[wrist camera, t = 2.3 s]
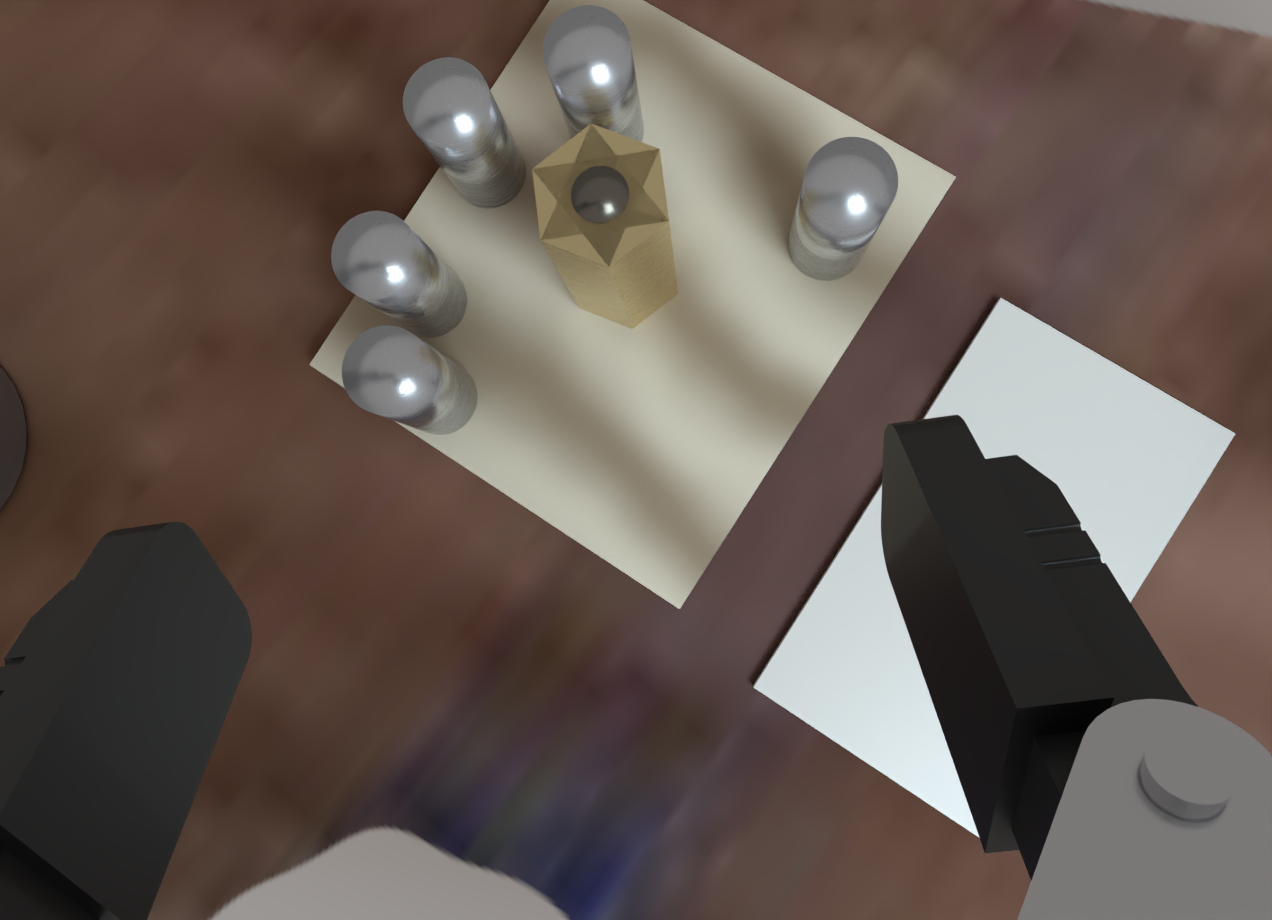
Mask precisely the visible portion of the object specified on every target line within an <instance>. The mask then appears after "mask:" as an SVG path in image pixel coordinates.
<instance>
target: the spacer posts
mask: <svg viewBox="0 0 1272 920" xmlns="http://www.w3.org/2000/svg"><path fill="white" fill-rule="evenodd" d="M543 59H544V62H545V65H546V68H547V71H548V74H549V77H550V80H551V83H552V85H553V88H554V91H555V94H556V97H557V100H558V103H559V105H560V108H561V111H562V114H563V117H564V120H565V123H566V125H567V128H568V131H569V134H570V137H571V139H572V138H573V137H574V136H575V135H577V134H578V133H579V132H581V131H582V130H583V129H585V128H586V127H587V126H588V125H590V124H594V125H597V126H599V127H602V128H605V129H607V130H610V131H613V132H616V133H618V134H621V135H624V136H626V137H629V138H632V139H634V140H637V141H640V142H642V139H643V135H644V123H643V117H642V111H641V104H640V98H639V92H638V86H637V79H636V73H635V67H634V61H633V55H632V48H631V42H630V36H629V33H628V30H627V28H626V26H625V24H624V23H623V21H622V20H621V19H620V18H619V17H618V16H617V15H616V14H614V13H613V12H611V11H610V10H608V9H606V8H603V7H599V6H593V5H585V6H578V7H575V8H572V9H570V10H568V11H566V12H564V13H563V14H561V15H560V16H559V17H557V18H556V19H555V20H554V21H553V23H552V24H551V25H550V27H549V29H548V30H547V32H546V35H545V37H544V41H543ZM403 111H404V114H405V117H406V119H407V121H408V123H409V125H410V126H411V128H412V129H413V130H414V132H415V133H416V134H417V136H418V137H419V138H420V140H421V141H422V143H423V144H424V145H425V147H426V148H427V149H428V151H429V152H430V153H431V155H432V156H433V158H434V159H435V160H436V162H437V163H438V164H439V166H440V167H441V168H442V170H443V171H444V173H445V174H446V175H447V177H448V178H449V179H450V181H451V182H452V183H453V185H454V186H455V188H456V189H457V190H458V192H459V193H460V194H461V196H462V197H463V198H464V199H465V200H466V201H467V202H469V203H470V204H472V205H474V206H477V207H480V208H497V207H500V206H503V205H505V204H507V203H508V202H510V201H511V200H513V199H514V198H515V197H516V196H517V195H518V193H519V192H520V190H521V189H522V187H523V184H524V182H525V178H526V165H525V161H524V158H523V156H522V154H521V152H520V150H519V148H518V146H517V144H516V142H515V140H514V138H513V136H512V134H511V132H510V130H509V128H508V126H507V123H506V121H505V119H504V117H503V115H502V113H501V111H500V109H499V107H498V105H497V103H496V101H495V99H494V97H493V95H492V93H491V91H490V89H489V87H488V85H487V83H486V81H485V79H484V77H483V76H482V74H481V73H480V72H479V70H478V69H477V68H476V67H474V66H473V65H472V64H470V63H469V62H467V61H464V60H462V59H458V58H451V57H446V58H439V59H435V60H432V61H430V62H428V63H426V64H424V65H423V66H421V67H420V68H419V69H418V70H417V71H416V72H415V73H414V74H413V75H412V76H411V78H410V79H409V81H408V83H407V85H406V87H405V90H404V94H403ZM897 189H898V173H897V169H896V166H895V163H894V161H893V159H892V158H891V156H890V155H889V154H888V153H887V151H886V150H885V149H883V148H882V147H881V146H880V145H878V144H877V143H875V142H873V141H871V140H868V139H865V138H860V137H844V138H839V139H836V140H833V141H831V142H829V143H827V144H825V145H824V146H823V147H821V148H820V149H819V150H818V151H817V152H816V153H815V154H814V155H813V157H812V158H811V160H810V162H809V163H808V166H807V168H806V172H805V176H804V179H803V183H802V187H801V191H800V194H799V198H798V202H797V206H796V210H795V213H794V217H793V221H792V225H791V229H790V232H789V236H788V252H789V255H790V258H791V260H792V262H793V264H794V265H795V266H796V268H797V269H798V270H799V271H800V272H802V273H803V274H804V275H806V276H808V277H810V278H813V279H816V280H821V281H831V280H836V279H839V278H842V277H844V276H846V275H847V274H849V273H850V272H852V271H853V270H854V269H855V268H856V267H857V265H858V264H859V262H860V261H861V259H862V257H863V255H864V253H865V251H866V250H867V248H868V246H869V244H870V242H871V241H872V239H873V237H874V235H875V233H876V231H877V230H878V228H879V226H880V224H881V222H882V221H883V219H884V217H885V215H886V213H887V212H888V210H889V208H890V206H891V204H892V202H893V201H894V199H895V196H896V193H897ZM331 262H332V267H333V271H334V273H335V275H336V277H337V279H338V280H339V282H340V283H341V284H342V285H343V286H344V287H345V288H346V289H347V290H349V291H350V292H352V293H353V294H355V295H356V296H358V297H359V298H361V299H362V300H364V301H365V302H366V303H368V304H369V305H371V306H372V307H374V308H375V309H377V310H378V311H380V312H381V313H383V314H384V315H386V316H387V317H389V318H390V319H392V320H393V321H395V322H396V323H398V324H399V325H400V326H402V327H403V328H405V329H406V330H405V329H403V328H400V327H397V326H390V325H385V326H377V327H374V328H371V329H369V330H367V331H365V332H363V333H362V334H360V335H359V336H358V337H357V338H356V339H355V340H354V341H353V342H352V343H351V345H350V346H349V348H348V349H347V351H346V353H345V356H344V359H343V363H342V380H343V384H344V387H345V390H346V392H347V393H348V395H349V397H350V398H351V399H352V400H353V401H354V402H355V403H356V404H357V405H358V406H359V407H361V408H363V409H364V410H366V411H369V412H371V413H374V414H377V415H380V416H383V417H385V418H388V419H391V420H394V421H396V422H399V423H402V424H405V425H407V426H410V427H413V428H416V429H419V430H421V431H424V432H427V433H430V434H434V435H445V434H450V433H453V432H455V431H457V430H459V429H461V428H462V427H463V426H465V425H466V424H467V423H468V421H469V420H470V419H471V417H472V416H473V414H474V411H475V409H476V405H477V389H476V385H475V382H474V380H473V379H472V377H471V375H470V374H469V373H468V372H467V371H466V370H465V369H464V368H462V367H461V366H459V365H458V364H457V363H455V362H454V361H452V360H451V359H449V358H448V357H446V356H445V355H443V354H442V353H440V352H439V351H437V350H436V349H434V348H433V347H431V346H430V345H428V344H427V343H425V342H424V341H423V340H421V339H420V338H418V337H417V336H420V337H424V338H435V337H439V336H443V335H445V334H447V333H449V332H450V331H452V330H453V329H454V328H455V327H456V326H457V325H458V324H459V323H460V321H461V320H462V318H463V316H464V314H465V311H466V307H467V293H466V290H465V287H464V285H463V283H462V281H461V280H460V278H459V277H458V276H457V275H456V274H455V273H454V272H453V271H452V270H451V269H450V268H449V267H448V266H447V265H446V264H445V263H444V262H443V261H442V260H441V259H440V258H439V257H438V256H437V255H436V253H435V252H434V251H433V250H432V249H431V248H430V247H429V246H428V245H427V244H426V243H425V242H424V241H423V240H422V239H421V238H420V237H419V236H418V235H417V234H416V233H415V232H414V231H413V230H412V229H411V228H410V227H409V226H408V225H407V224H406V223H405V222H404V221H403V220H402V219H400V218H399V217H397V216H396V215H394V214H391V213H388V212H384V211H369V212H365V213H361V214H359V215H357V216H355V217H353V218H352V219H350V220H349V221H348V222H346V223H345V224H344V225H343V227H342V228H341V229H340V230H339V232H338V234H337V235H336V237H335V240H334V242H333V246H332V251H331ZM407 330H408V331H407ZM412 333H413V334H412ZM415 335H417V336H415Z"/></svg>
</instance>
